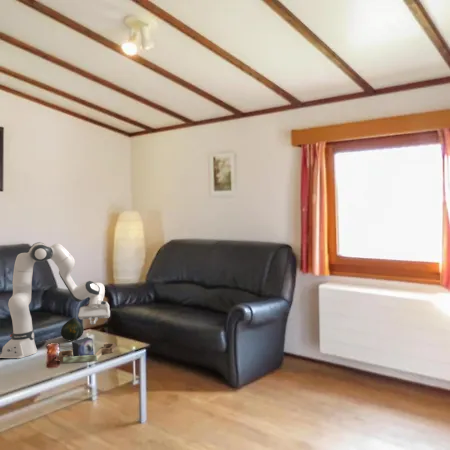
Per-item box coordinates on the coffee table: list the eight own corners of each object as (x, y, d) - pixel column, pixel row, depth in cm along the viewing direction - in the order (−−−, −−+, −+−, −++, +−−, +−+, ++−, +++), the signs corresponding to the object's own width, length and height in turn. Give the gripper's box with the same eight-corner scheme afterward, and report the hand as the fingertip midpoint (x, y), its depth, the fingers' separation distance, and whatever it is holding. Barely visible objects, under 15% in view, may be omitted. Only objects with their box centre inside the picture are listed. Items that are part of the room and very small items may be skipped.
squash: (55, 336, 301) (69, 317, 303) (58, 331, 316) (72, 313, 317) (73, 348, 303) (87, 329, 305) (75, 342, 318) (89, 324, 320)
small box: (78, 361, 265) (76, 343, 264) (72, 359, 269) (71, 341, 269) (94, 355, 273) (92, 338, 272) (88, 353, 277) (86, 336, 277)
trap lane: (52, 363, 263) (52, 358, 263) (67, 349, 289) (67, 344, 288) (107, 359, 263) (107, 354, 263) (117, 345, 289) (117, 340, 288)
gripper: (78, 303, 300) (75, 322, 290) (109, 302, 300) (107, 320, 290) (81, 308, 304) (77, 327, 295) (112, 307, 304) (109, 325, 295)
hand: (92, 323), depth 293 cm, fingers closed
